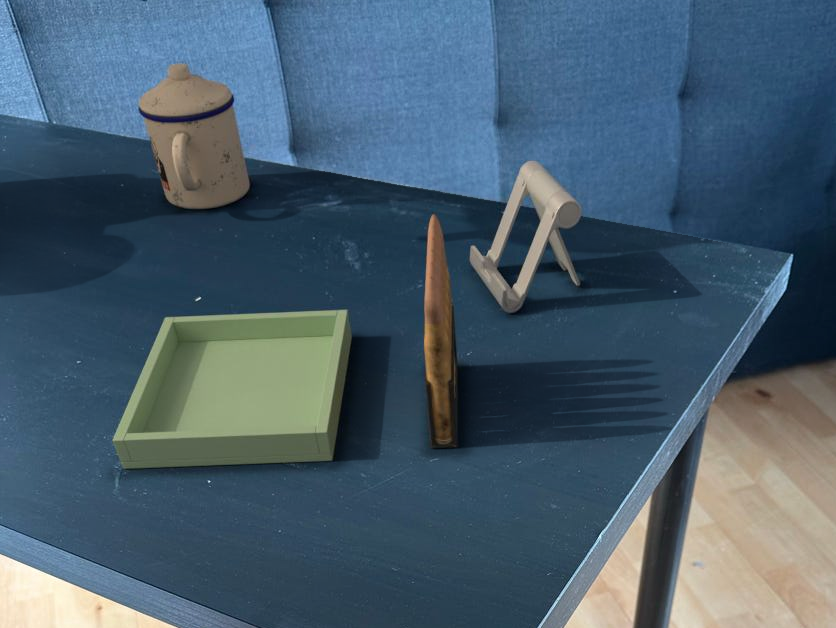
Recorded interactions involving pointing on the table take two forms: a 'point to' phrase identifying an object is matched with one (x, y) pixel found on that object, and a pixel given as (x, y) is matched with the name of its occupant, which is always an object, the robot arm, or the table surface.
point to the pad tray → (238, 391)
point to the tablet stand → (553, 213)
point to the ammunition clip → (440, 345)
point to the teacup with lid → (195, 140)
